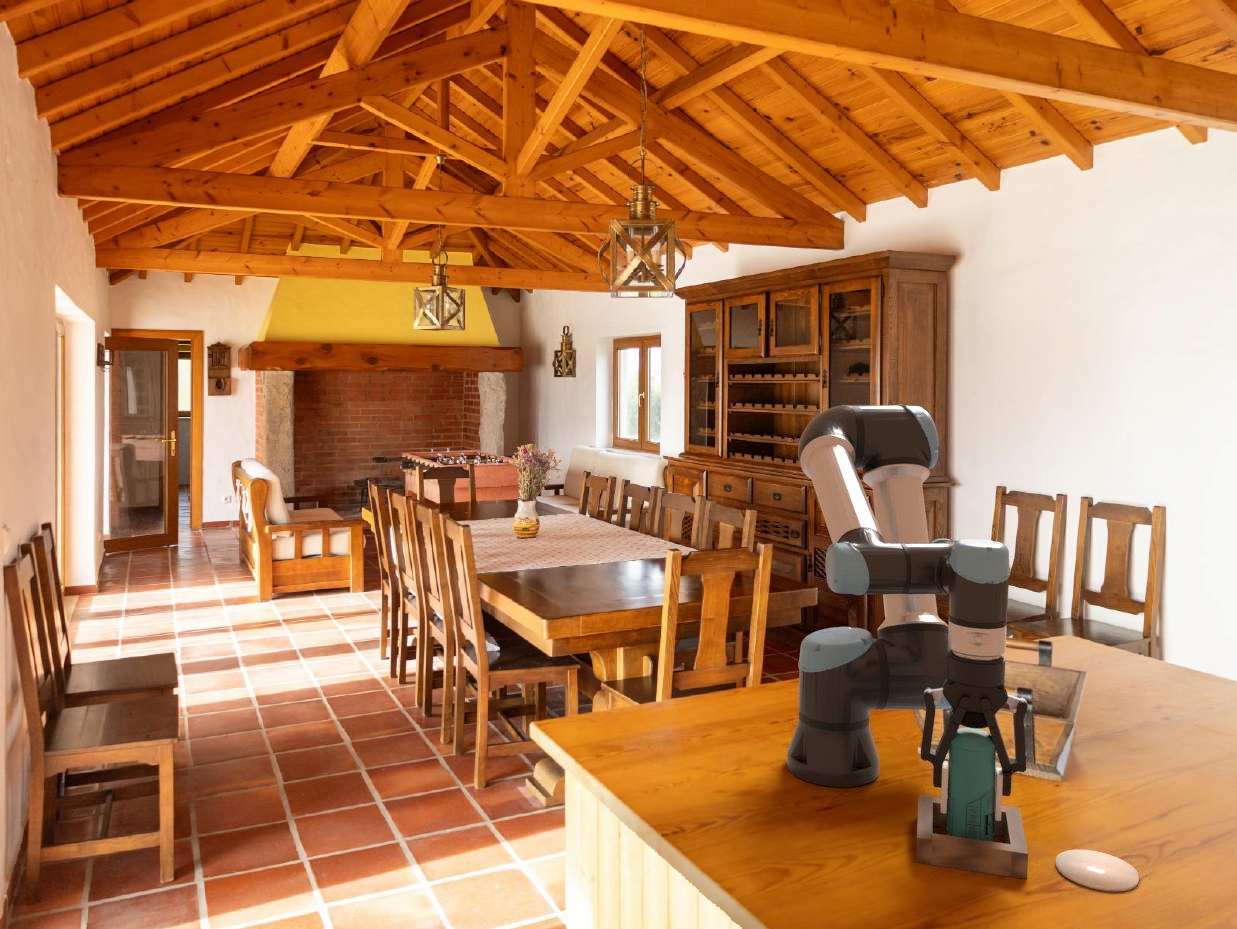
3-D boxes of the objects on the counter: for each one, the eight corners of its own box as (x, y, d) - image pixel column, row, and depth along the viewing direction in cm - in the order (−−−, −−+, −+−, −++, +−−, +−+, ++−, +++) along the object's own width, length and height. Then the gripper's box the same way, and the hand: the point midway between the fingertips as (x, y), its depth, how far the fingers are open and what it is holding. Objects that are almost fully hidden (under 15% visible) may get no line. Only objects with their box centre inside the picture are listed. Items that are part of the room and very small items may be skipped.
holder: (916, 862, 132) (916, 837, 132) (918, 817, 145) (918, 794, 145) (1027, 878, 128) (1028, 853, 128) (1018, 831, 141) (1019, 807, 141)
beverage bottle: (988, 862, 132) (994, 720, 130) (939, 849, 136) (943, 711, 134) (998, 842, 138) (1004, 706, 136) (950, 830, 141) (955, 697, 139)
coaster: (1060, 883, 127) (1060, 880, 127) (1051, 848, 136) (1051, 844, 136) (1145, 896, 124) (1145, 893, 123) (1130, 859, 133) (1131, 855, 133)
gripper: (902, 653, 133) (897, 814, 136) (1056, 667, 127) (1048, 835, 130) (904, 639, 140) (899, 792, 143) (1049, 651, 134) (1042, 810, 137)
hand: (970, 812), depth 136 cm, fingers closed on beverage bottle, 6 cm apart
